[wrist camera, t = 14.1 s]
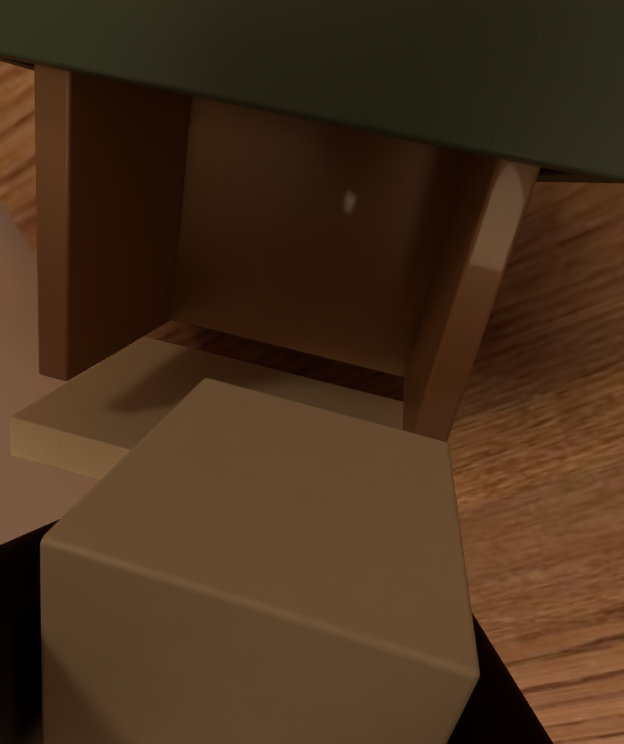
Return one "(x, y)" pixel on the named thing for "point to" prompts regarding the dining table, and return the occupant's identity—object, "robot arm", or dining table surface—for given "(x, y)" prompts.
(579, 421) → the dining table surface
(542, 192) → the dining table surface
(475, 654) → the block
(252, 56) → the cabinet
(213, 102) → the drawer
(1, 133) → the dining table surface
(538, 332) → the dining table surface
